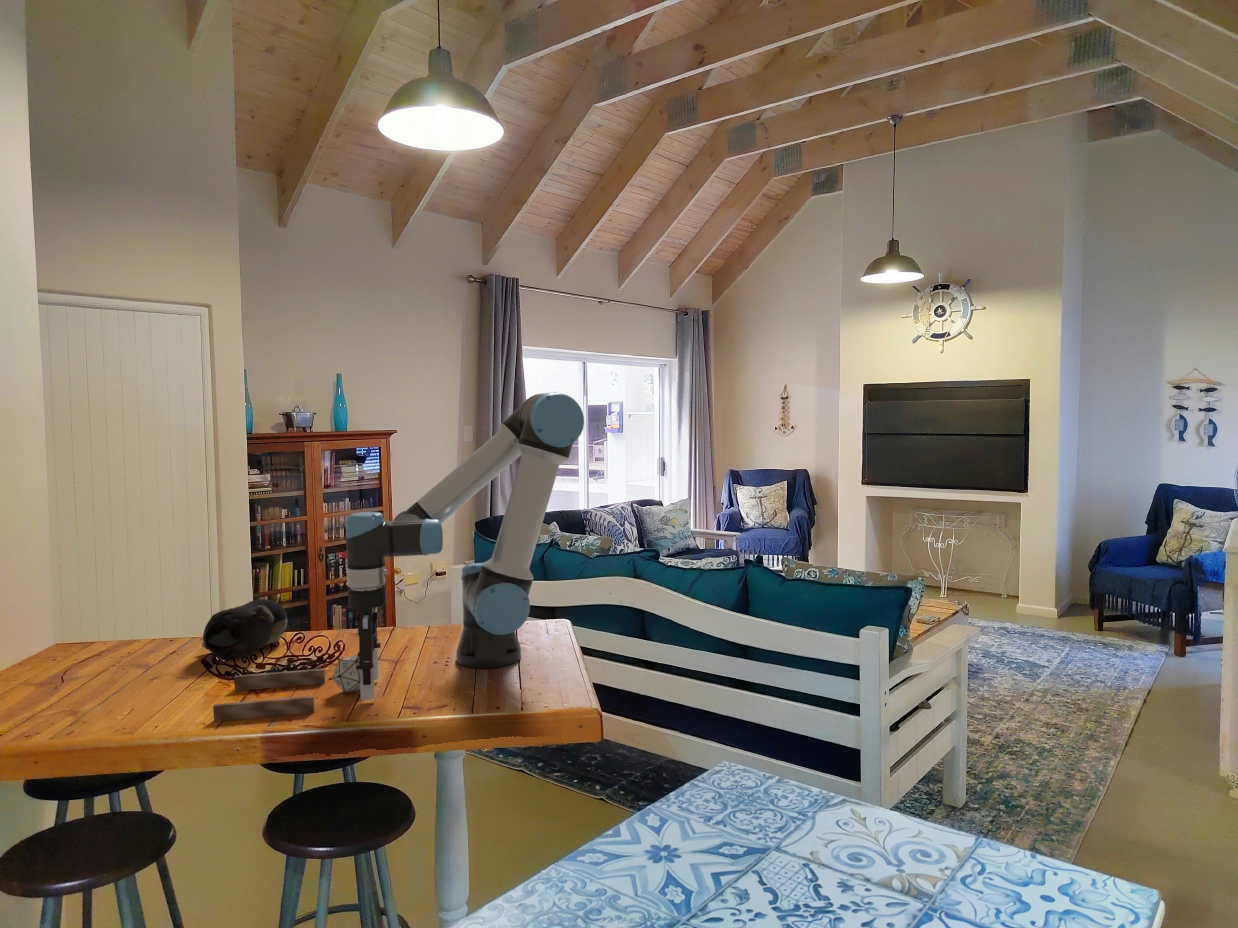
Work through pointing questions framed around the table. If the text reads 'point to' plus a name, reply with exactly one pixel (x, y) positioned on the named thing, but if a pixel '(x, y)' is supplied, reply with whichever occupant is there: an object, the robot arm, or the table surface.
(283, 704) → the walnut channel
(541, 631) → the table surface
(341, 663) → the game die
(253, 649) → the black rounded lump
